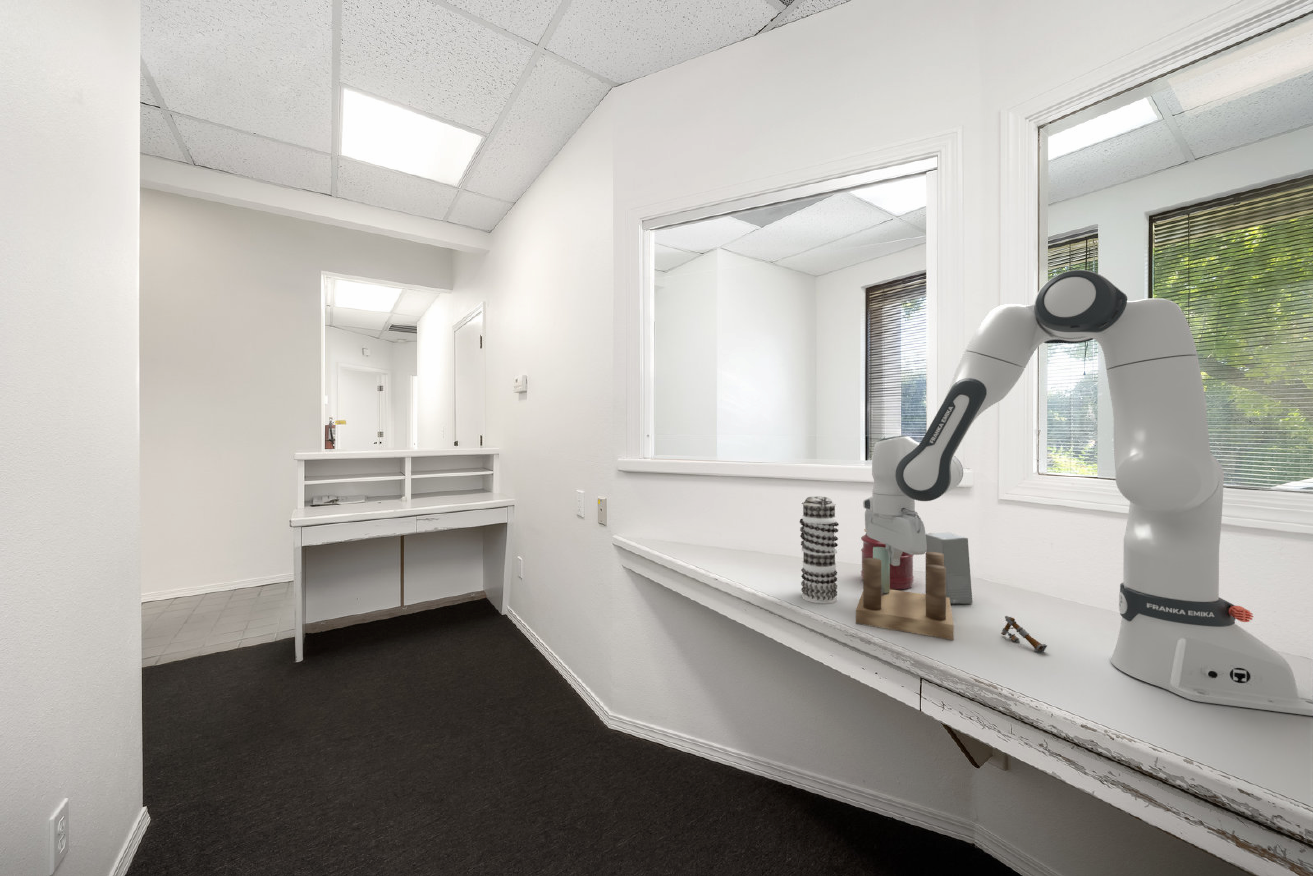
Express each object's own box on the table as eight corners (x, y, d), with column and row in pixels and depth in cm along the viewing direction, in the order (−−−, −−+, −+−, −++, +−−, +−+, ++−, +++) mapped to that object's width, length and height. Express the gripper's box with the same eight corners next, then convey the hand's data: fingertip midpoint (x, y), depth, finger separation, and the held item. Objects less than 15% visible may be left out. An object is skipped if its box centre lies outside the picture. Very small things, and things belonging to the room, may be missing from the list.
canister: (920, 592, 125) (919, 523, 124) (865, 588, 128) (865, 521, 127) (906, 577, 137) (906, 515, 137) (857, 574, 140) (857, 513, 140)
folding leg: (875, 587, 118) (875, 546, 118) (891, 589, 116) (891, 548, 116) (864, 597, 111) (864, 553, 111) (881, 600, 109) (881, 556, 109)
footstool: (949, 610, 112) (949, 552, 112) (953, 640, 96) (953, 572, 96) (864, 598, 120) (864, 544, 120) (855, 623, 105) (855, 561, 104)
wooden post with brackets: (1002, 629, 99) (1010, 612, 97) (1037, 662, 92) (1047, 644, 90) (995, 630, 98) (1003, 613, 97) (1030, 663, 91) (1040, 645, 90)
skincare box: (973, 604, 115) (973, 538, 115) (942, 604, 115) (942, 538, 115) (952, 593, 124) (952, 531, 124) (923, 593, 124) (923, 531, 124)
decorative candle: (825, 607, 114) (825, 501, 114) (792, 597, 122) (792, 497, 121) (846, 598, 120) (846, 498, 120) (813, 589, 127) (813, 494, 127)
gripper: (934, 512, 103) (935, 577, 103) (883, 499, 123) (884, 554, 123) (905, 513, 102) (906, 578, 102) (859, 500, 123) (860, 554, 123)
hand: (894, 565), depth 113 cm, fingers closed
